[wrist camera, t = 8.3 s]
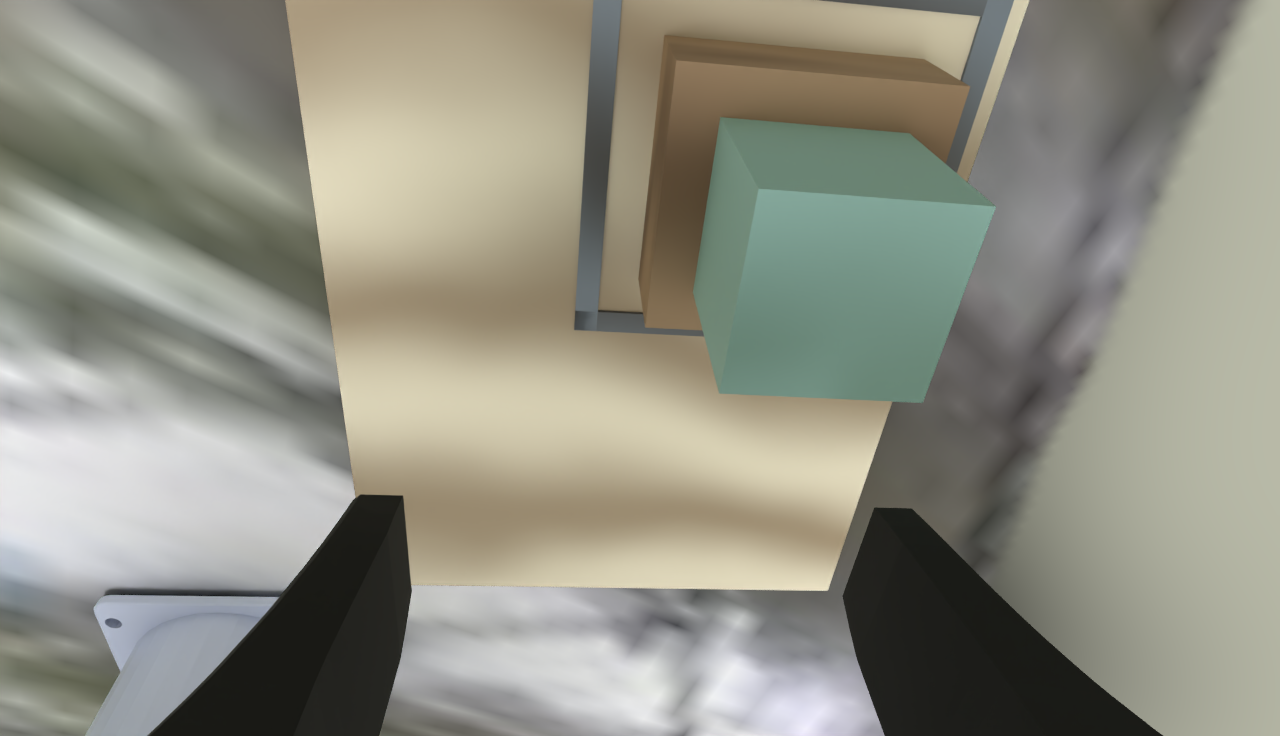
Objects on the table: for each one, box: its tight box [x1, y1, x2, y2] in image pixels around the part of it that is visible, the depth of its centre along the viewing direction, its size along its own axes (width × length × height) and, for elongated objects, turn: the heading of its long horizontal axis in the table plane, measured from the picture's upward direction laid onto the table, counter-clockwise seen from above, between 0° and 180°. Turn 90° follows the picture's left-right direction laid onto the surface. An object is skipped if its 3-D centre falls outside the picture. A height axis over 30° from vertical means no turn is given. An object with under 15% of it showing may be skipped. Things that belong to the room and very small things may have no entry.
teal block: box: [693, 117, 996, 403], centre depth 15 cm, size 4×4×4 cm
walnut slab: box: [638, 35, 970, 330], centre depth 18 cm, size 6×6×2 cm
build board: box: [285, 0, 1029, 591], centre depth 22 cm, size 20×16×1 cm
